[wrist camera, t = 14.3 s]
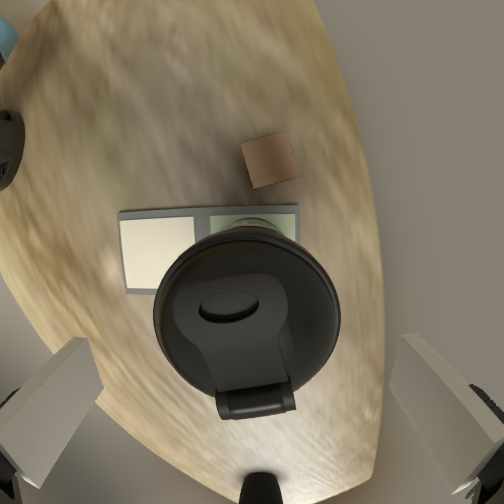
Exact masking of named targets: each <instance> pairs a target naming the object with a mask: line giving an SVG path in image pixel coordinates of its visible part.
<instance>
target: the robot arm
mask: <svg viewBox="0 0 504 504" xmlns="http://www.w3.org/2000/svg"><path fill="white" fill-rule="evenodd" d="M17 41H18V32H17V30H16V29H15V28H14V27H13V26H12V25H11V24H10V23H9V22H8V21H7V20H6V19H4V18H3V17H2V16H1V15H0V70H1V69H2V67H3V65H4V64H5V63H6V62H7V58H8V56H9V55H10V53H11V51H12V50H13V48H14V46H15V45H16V43H17ZM23 146H24V125H23V121H22V118H21V116H20V115H19V114H18V113H17V112H15V111H12V110H8V109H2V110H0V191H2V190H3V189H5V188H6V187H7V186H8V185H9V184H10V182H11V181H12V179H13V178H14V176H15V174H16V172H17V169H18V167H19V164H20V160H21V157H22V152H23ZM388 387H389V388H390V390H391V392H392V393H393V395H394V396H395V398H396V400H397V401H398V403H399V405H400V406H401V408H402V410H403V411H404V413H405V414H406V416H407V418H408V419H409V421H410V423H411V424H412V426H413V428H414V430H415V431H416V433H417V435H418V436H419V438H420V440H421V441H422V443H423V445H424V446H425V448H426V450H427V452H428V454H429V455H430V457H431V459H432V461H433V462H434V464H435V466H436V468H437V470H438V471H439V473H440V475H441V477H442V479H443V481H444V482H445V484H446V486H447V488H448V490H449V492H450V494H451V495H452V494H454V493H456V492H458V491H460V490H462V489H464V488H465V487H467V486H469V484H470V483H471V482H472V481H473V480H474V479H475V478H476V477H478V478H479V480H480V481H479V482H478V483H477V484H476V485H475V486H474V487H473V488H472V489H471V490H470V491H469V493H468V494H467V495H466V497H465V499H467V498H469V497H470V496H471V495H472V494H473V493H474V495H473V497H472V498H471V499H473V500H472V504H504V412H503V411H502V410H501V409H500V408H499V407H498V406H496V404H495V403H494V401H493V400H490V397H489V396H488V395H487V394H486V393H485V392H484V391H483V390H482V389H480V388H478V387H477V386H474V385H473V384H471V385H467V384H466V383H465V381H464V380H463V379H462V378H461V377H460V376H459V375H458V374H457V373H456V372H455V371H454V370H453V369H452V368H451V367H450V366H449V365H448V364H447V363H446V362H445V361H444V360H443V359H442V358H441V357H440V356H439V355H438V354H437V353H436V352H435V351H434V350H433V349H432V348H431V347H430V346H429V345H428V344H427V343H426V342H425V341H424V340H423V339H422V338H421V337H420V336H419V335H418V334H417V333H410V334H404V335H401V338H400V343H399V347H398V352H397V356H396V360H395V364H394V367H393V371H392V375H391V378H390V382H389V385H388ZM103 388H104V387H103V384H102V382H101V379H100V376H99V373H98V370H97V367H96V364H95V361H94V358H93V355H92V352H91V348H90V345H89V342H88V338H81V337H75V336H74V337H73V338H72V339H71V340H70V341H69V342H68V343H67V344H66V345H65V346H64V347H63V348H61V349H60V350H59V351H58V352H57V353H56V354H55V355H54V356H53V357H52V358H51V359H50V360H49V361H48V362H47V363H46V364H45V365H44V366H43V367H42V368H40V369H39V370H38V371H37V372H36V373H35V374H34V375H33V376H32V377H31V378H30V379H29V380H28V381H27V382H26V383H25V384H24V385H23V386H22V387H20V388H19V389H17V390H15V391H13V392H12V393H11V394H10V395H9V396H8V397H7V398H6V401H3V402H2V403H1V404H0V504H22V500H21V496H20V490H19V484H18V480H17V478H16V476H15V475H14V474H15V472H16V471H17V472H18V473H19V474H20V475H21V476H22V477H23V479H24V480H25V481H27V482H29V483H30V484H32V485H34V486H35V487H37V488H39V489H40V487H41V486H42V484H43V482H44V480H45V479H46V477H47V475H48V474H49V472H50V470H51V468H52V467H53V465H54V464H55V462H56V461H57V459H58V457H59V455H60V454H61V452H62V451H63V449H64V448H65V446H66V444H67V443H68V441H69V440H70V438H71V437H72V435H73V433H74V432H75V430H76V429H77V427H78V426H79V424H80V422H81V421H82V419H83V418H84V417H85V415H86V414H87V412H88V411H89V409H90V408H91V406H92V405H93V403H94V402H95V400H96V399H97V397H98V396H99V394H100V393H101V391H102V390H103Z"/></svg>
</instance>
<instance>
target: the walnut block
mask: <svg viewBox="0 0 504 504" xmlns="http://www.w3.org/2000/svg"><path fill="white" fill-rule="evenodd" d="M240 146H241V149H242V153H243V156H244V159H245V162H246V166H247V169H248V172H249V175H250V179H251V182H252V185H253V188H254V190H255V189H258V188H262V187H265V186H269V185H272V184H276V183H279V182H283V181H286V180H290V179H294V178H296V177H299V176H300V174H299V171H298V168H297V164H296V161H295V158H294V155H293V152H292V148H291V145H290V142H289V139H288V136H287V133H286V131H285V132H281V133H277V134H273V135H269V136H266V137H262V138H258V139H255V140H251V141H248V142H244V143H241V144H240Z"/></svg>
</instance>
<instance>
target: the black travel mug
mask: <svg viewBox="0 0 504 504" xmlns="http://www.w3.org/2000/svg"><path fill="white" fill-rule="evenodd" d="M153 322H154V329H155V333H156V337H157V340H158V343H159V345H160V348H161V350H162V352H163V353H164V355H165V357H166V358H167V360H168V361H169V363H170V364H171V365H172V366H173V368H174V369H175V370H176V371H177V372H178V374H179V375H180V376H181V377H182V378H183V379H184V380H186V381H187V382H188V383H189V384H190V385H192V386H193V387H195V388H196V389H198V390H199V391H201V392H203V393H205V394H207V395H209V396H212V397H214V398H215V400H216V407H217V411H218V414H219V416H220V418H221V419H222V420H229V419H233V420H240V419H248V418H256V417H263V416H269V415H275V414H281V413H286V411H291V410H296V405H295V399H294V394H293V392H295V391H296V390H298V389H299V388H300V387H302V386H303V385H304V384H306V383H307V382H308V381H309V380H310V379H311V378H312V377H313V376H315V375H316V374H317V373H318V372H319V371H320V369H321V368H322V367H323V366H324V365H325V363H326V362H327V360H328V359H329V357H330V356H331V354H332V352H333V350H334V348H335V345H336V342H337V339H338V336H339V331H340V323H341V312H340V304H339V300H338V296H337V293H336V290H335V287H334V285H333V283H332V281H331V279H330V277H329V276H328V274H327V272H326V271H325V270H324V268H323V267H322V266H321V265H320V264H319V262H318V261H317V260H316V259H315V258H314V257H313V256H312V255H311V254H310V253H309V252H308V251H307V250H306V249H305V248H303V247H302V246H301V245H299V244H298V243H296V242H295V241H293V240H291V239H289V238H287V237H285V236H284V235H283V234H282V232H281V231H280V230H279V229H278V228H277V227H276V226H274V225H273V224H272V223H270V222H268V221H266V220H264V219H261V218H256V217H247V218H242V219H239V220H236V221H234V222H233V223H231V224H230V225H228V226H227V227H225V228H224V229H222V231H220V232H217V233H214V234H211V235H209V236H207V237H205V238H203V239H201V240H199V241H198V242H196V243H195V244H193V245H192V246H190V247H189V248H188V249H187V250H186V251H184V252H183V253H182V254H181V255H180V256H178V258H177V259H176V260H175V261H174V263H173V264H172V265H171V266H170V267H169V269H168V270H167V272H166V273H165V275H164V277H163V278H162V280H161V282H160V285H159V287H158V290H157V293H156V296H155V301H154V308H153Z"/></svg>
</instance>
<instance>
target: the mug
mask: <svg viewBox="0 0 504 504" xmlns="http://www.w3.org/2000/svg"><path fill="white" fill-rule="evenodd" d="M239 504H283V500H282V495H281V490H280V487H279V484H278V481H277V479H276V478H275V477H274V476H273V475H271V474H268V473H254V474H251V475H249V476H247V477H246V479H245V480H244V482H243V485H242V489H241V493H240V498H239Z"/></svg>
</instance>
